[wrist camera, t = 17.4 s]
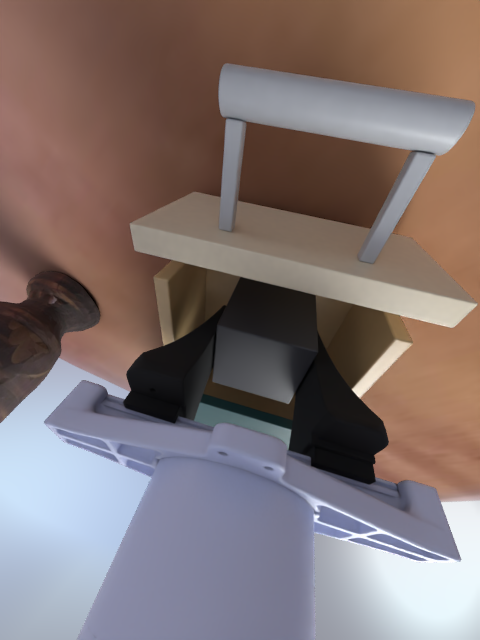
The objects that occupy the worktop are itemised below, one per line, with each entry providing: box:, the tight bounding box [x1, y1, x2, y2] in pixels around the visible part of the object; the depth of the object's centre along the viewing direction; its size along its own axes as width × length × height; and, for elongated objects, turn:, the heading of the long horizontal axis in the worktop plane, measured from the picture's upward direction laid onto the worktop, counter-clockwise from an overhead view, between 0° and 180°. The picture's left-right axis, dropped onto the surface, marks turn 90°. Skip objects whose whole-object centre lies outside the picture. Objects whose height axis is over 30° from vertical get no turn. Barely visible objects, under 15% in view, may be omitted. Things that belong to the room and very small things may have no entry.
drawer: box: [130, 63, 478, 420], centre depth 14 cm, size 18×13×7 cm
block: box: [212, 277, 318, 404], centre depth 14 cm, size 5×5×5 cm
